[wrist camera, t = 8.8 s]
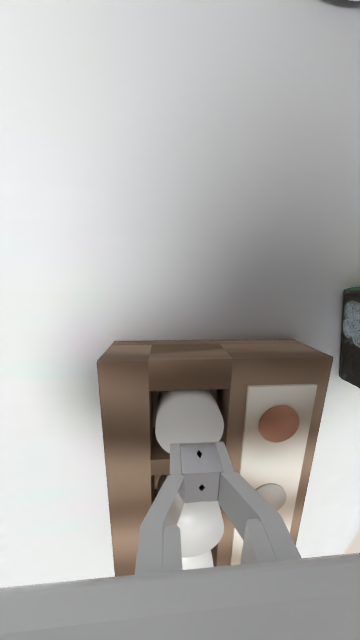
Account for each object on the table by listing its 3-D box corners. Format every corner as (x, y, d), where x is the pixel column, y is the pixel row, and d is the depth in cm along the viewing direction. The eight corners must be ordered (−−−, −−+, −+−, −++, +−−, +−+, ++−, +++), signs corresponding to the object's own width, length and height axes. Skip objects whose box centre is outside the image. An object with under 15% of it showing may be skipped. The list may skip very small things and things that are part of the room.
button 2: (156, 376, 15) (154, 399, 12) (214, 374, 15) (226, 397, 12) (157, 426, 16) (155, 459, 13) (211, 423, 16) (221, 455, 13)
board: (114, 341, 15) (94, 363, 11) (293, 339, 16) (338, 359, 12) (127, 545, 20) (116, 617, 16) (264, 532, 21) (289, 595, 17)
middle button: (157, 463, 15) (154, 508, 12) (214, 460, 15) (226, 503, 12) (157, 508, 16) (155, 560, 13) (211, 504, 16) (221, 553, 13)
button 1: (158, 507, 17) (157, 552, 14) (207, 503, 18) (215, 547, 15) (158, 543, 18) (157, 592, 15) (204, 538, 19) (212, 586, 16)
